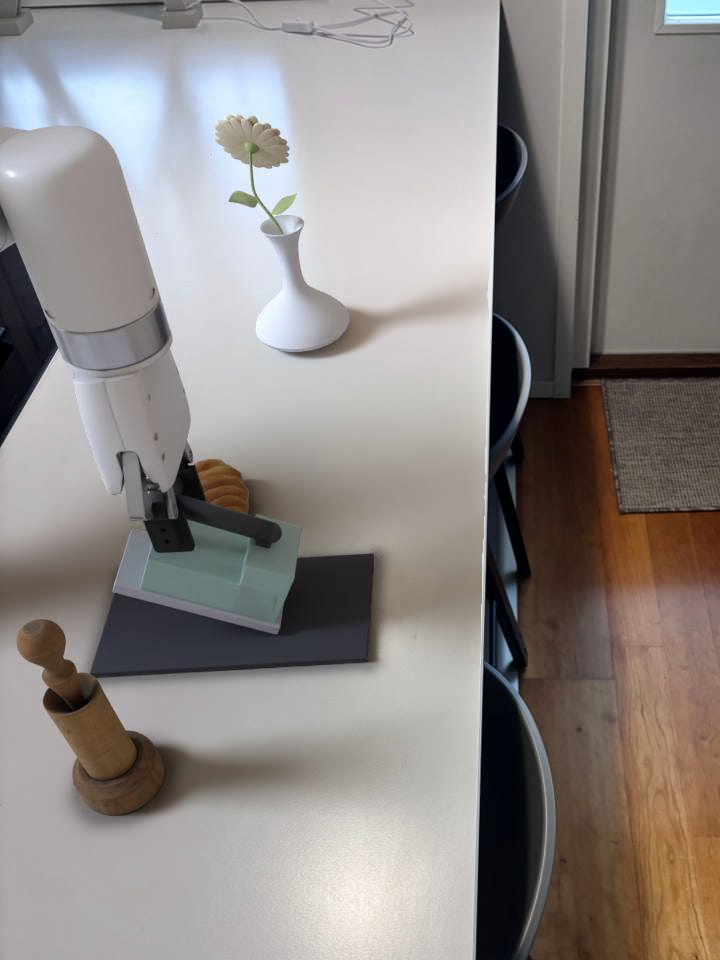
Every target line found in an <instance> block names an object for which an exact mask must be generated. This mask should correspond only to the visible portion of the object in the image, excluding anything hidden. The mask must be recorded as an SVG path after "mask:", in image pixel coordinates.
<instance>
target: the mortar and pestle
mask: <svg viewBox="0 0 720 960" xmlns="http://www.w3.org/2000/svg"><path fill="white" fill-rule="evenodd" d="M15 642H16V648H17V651H18V653H19V654H20V656H21V657H22V659H24V660H26V661H27V662H28V663H31V664H34V665H36V666H39V667H41V668H43V671H42V673H41V679H42V681H43V683H44V684H45V685H46V686H47V687H48V688H47V689H46V691H45V692H44V694H43V698H42V706H43V708H44V710H45V711H46V713H47V714H48V716H49V717H50V719H51V721H53V723H54V725H55V726H56V728H57V729H58V730H59V732H60V733H61V735H62V737H63V738H64V740H65V741H66V743H67V744H68V745H69V747H70V748H71V750H72V752H73V753H74V755H75V756H76V759H75V761H74V763H73V767H72V772H71V773H72V782H73V785H74V787H75V789H76V791H77V792H78V794H79V795H80V796H81V798H82V800H83V801H84V803H85V804H86V805H87V806H88V807H89V808H90V809H91V810H92V811H94V812H96V813H97V814H101V815H105V816H119V815H126V814H128V813H131V812H135V811H136V810H139V809H140V808H141V807H143V806H144V805H146V804H147V803H149V802H150V801H151V800H152V799H153V798H154V797H155V795H156V794H157V793H158V791H159V790H160V788H161V786H162V785H163V782H164V779H165V764H164V761H163V758H162V757H161V755H160V753H159V752H158V750H157V748H156V746H155V745H154V743H153V742H152V741H151V740H150V738H149V737H148V736H146V735H144V734H142V733H141V732H138V731H135V730H129V729H127V730H126V728H125V727H124V725H123V723H122V721H121V719H120V718H119V716H118V713H117V712H116V711H115V709H114V708H113V706H112V704H111V702H110V700H109V698H108V696H107V694H106V692H105V691H104V689H103V687H102V686H101V684H100V682H99V680H98V679H97V677H94V676H93V675H91V674H90V673H88V672H78V670H77V666H76V664H75V663H74V662H73V660H70V659H68V658H64V656H65V651H66V645H67V637H66V634H65V631H64V629H62V627H61V626H60V625H59V624H58V623H57V622H55V621H53V620H51V619H47V618H35V619H32V620H29V621H27V622H26V623H24V624H23V625H22V626H21V627H20V628H19V630H18V632H17V634H16V641H15Z"/></svg>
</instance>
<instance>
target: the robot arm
mask: <svg viewBox="0 0 720 960" xmlns="http://www.w3.org/2000/svg"><path fill="white" fill-rule="evenodd" d="M143 237H144V236H143V235H142V231H141V228H140V224H139V222H138V217H137V215H136V211H135V207H134V204H133V201H132V198H131V195H130V192H129V189H128V185H127V182H126V179H125V175H124V172H123V169H122V165H121V163H120V160H119V157H118V155H117V153H116V151H115V148H114V147H113V146H112V145H111V143H110V142H109V140H107V138H105V137H104V136H103V135H102V134H100V133H99V132H97V131H94V130H92V129H90V128H87V127H84V126H78V125H51V126H44V127H40V128H39V127H38V128H35V129H31V130H28V129H20V128H15V127H10V126H5V125H0V253H1V252H3V251H5V250H6V249H8V247H11V246H12V245H14V244H15V245H16V247H17V249H18V252H19V254H20V257H21V259H22V262H23V264H24V268H25V269H26V271H27V274H28V277H29V280H30V282H31V284H32V287H33V289H34V292H35V294H36V297H37V299H38V301H39V304H40V306H41V309H42V311H43V314H44V316H45V319H46V321H47V323H48V326H49V328H50V331H51V333H52V336H53V339H54V340H55V344H56V345H57V348H58V351H59V353H60V356H61V358H62V360H63V364H64V365H65V366H66V367H67V368H68V369H69V370H70V371H72V377H71V378H72V384H73V388H74V393H75V398H76V402H77V406H78V411H79V414H80V417H81V421H82V425H83V427H84V431H85V435H86V437H87V441H88V443H89V446H90V449H91V452H92V455H93V457H94V461H95V463H96V466H97V469H98V472H99V474H100V477H101V480H102V482H103V484H104V486H105V489H106V491H107V492H108V493H109V494H110V495H111V496H116V495H122V492H123V490H124V489H125V490H124V491H125V498H126V499H125V500H126V507H127V516H128V520H129V521H131V522H138V521H139V522H143V524H144V528H145V530H146V532H148V535H149V538H150V540H151V543H152V545H153V548H154V550H155V551H156V552H158V553H171V552H191V551H193V550H194V547H195V542H194V539H193V536H192V533H191V531H190V528H189V525H188V522H187V519H186V516H185V513H184V510H180V509H178V507H177V503H176V498H175V494H174V490H173V486H172V485H173V484H174V482H175V479H176V476H177V475H178V476H179V477H180V478H181V479H182V481H183V484H184V487H183V491H182V495H184V496H188V497H191V498H194V499H198V500H201V501H204V502H206V497H205V494H204V491H203V488H202V485H201V482H200V479H199V475H198V472H197V469H196V466H195V465H194V464H193V463H194V453H193V450H192V448H191V445H190V443H189V441H188V437H189V434H190V429H191V421H192V420H191V419H192V418H191V417H192V416H191V409H190V405H189V401H188V397H187V394H186V390H185V387H184V384H183V381H182V378H181V376H180V372H179V369H178V367H177V363H176V361H175V358H174V356H173V353H172V350H171V347H172V344H173V333H172V330H171V327H170V324H169V320H168V317H167V313H166V310H165V308H164V303H163V301H162V298H161V294H160V290H159V287H158V284H157V281H156V277H155V273H154V270H153V267H152V264H151V260H150V257H149V253H148V250H147V247H146V244H145V241H144V238H143ZM150 491H162V495H163V499H164V503H162V502H150V501H149V497H148V496H149V492H150Z"/></svg>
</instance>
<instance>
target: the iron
mask: <svg viewBox="0 0 720 960" xmlns="http://www.w3.org/2000/svg"><path fill="white" fill-rule="evenodd" d="M172 486H173V490H174V494H175V498H176V503H177V507H178V509H180V510H184V513H185V516H186V519H187V522H188V525H189V528H190V531H191V533H192V536H193V539H194V542H195V547H194V550H193V551H191V552H171V553H158V552H156V551H155V550H154V548H153V545H152V543H151V540H150V538H149V535H148V532H147V531H145V530H141V529H137V528H134V527H132V528H131V529H130V532H129V535H128V538H127V541H126V544H125V548H124V551H123V554H122V557H121V561H120V563H119V568H118V570H117V573H116V576H115V579H114V582H113V583H114V584H113V587H112V593H118V594H122V595H126V596H130V597H134V598H137V599H141V600H145V601H149V602H153V603H157V604H161V605H164V606H168V607H172V608H176V609H180V610H184V611H187V612H191V613H195V614H199V615H203V616H207V617H210V618H214V619H218V620H222V621H226V622H230V623H234V624H237V625H241V626H245V627H249V628H253V629H257V630H260V631H264V632H268V633H272V634H276V635H277V634H278V632H279V630H280V626H281V619H282V612H283V605H284V602H285V599H286V597H287V595H288V592H289V590H290V588H291V585H292V583H293V580H294V577H295V570H296V563H297V558H298V555H299V548H300V541H301V533H302V527H301V526H299V525H295V524H291V523H289V522H285V521H283V520H282V521H281V520H279V519H275V518H272V517H269V516H265V515H262V514H258V513H256V514H255V515H251V514H248V513H247V514H245V513H241V512H238V511H235V510H231V509H228V508H225V507H221V506H218V505H215V504H211V503H208V502H204V501H201V500H198V499H194V498H191V497H188V496H184V495H182V491H183V487H184V484H183V481H182V479H181V478H180V477H179V476H178V475H177V476H176V479H175V482H174V484H173V485H172ZM148 497H149V501H150V502H162V503H164V499H163V495H162V491H148Z"/></svg>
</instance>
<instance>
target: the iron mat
mask: <svg viewBox="0 0 720 960" xmlns="http://www.w3.org/2000/svg"><path fill="white" fill-rule="evenodd" d="M374 568H375V554H374V553H373V552H372V553H370V552H369V553H355V554H353V553H352V554H339V555H338V554H337V555H322V556H304V557H303V556H301V557H297V563H296V570H295V577H294V580H293V583H292V585H291V588H290V590H289V592H288V595H287V597H286V599H285V602H284V605H283V612H282V619H281V626H280V630H279V632H278V634H277V635H276V634H272V633H268V632H264V631H260V630H257V629H253V628H249V627H245V626H241V625H237V624H234V623H230V622H226V621H222V620H218V619H214V618H210V617H207V616H203V615H199V614H195V613H191V612H187V611H184V610H180V609H176V608H172V607H168V606H164V605H161V604H157V603H153V602H149V601H145V600H141V599H137V598H134V597H130V596H126V595H122V594H118V593H114V592H113V593H114V594H113V597H112V600H111V603H110V607H109V610H108V613H107V617H106V619H105V623H104V626H103V629H102V632H101V635H100V639H99V642H98V645H97V648H96V652H95V655H94V658H93V662H92V665H91V667H90V671H89V674H91V675H93V676H94V677H95V678H105V677H106V678H107V677H120V676H121V677H122V676H139V675H142V676H143V675H159V674H175V673H191V672H192V673H194V672H210V671H211V672H212V671H213V672H214V671H228V670H243V669H244V670H246V669H247V670H248V669H249V670H250V669H263V668H282V667H300V666H317V665H318V666H319V665H335V664H354V663H367V662H369V661H368V660H369V647H370V646H369V645H370V631H371V616H372V615H371V614H372V599H373V588H374V570H375V569H374Z"/></svg>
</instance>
